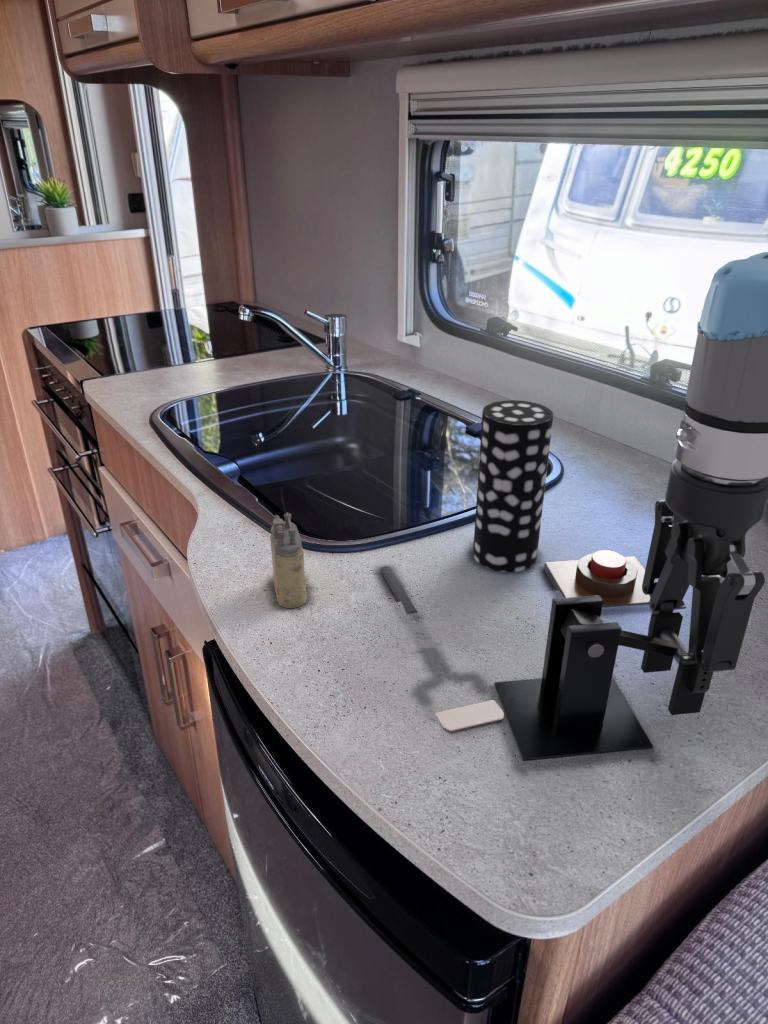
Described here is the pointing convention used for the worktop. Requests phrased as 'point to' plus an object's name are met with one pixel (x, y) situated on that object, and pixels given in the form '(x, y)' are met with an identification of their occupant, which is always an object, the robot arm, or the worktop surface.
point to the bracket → (573, 693)
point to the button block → (598, 582)
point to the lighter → (288, 563)
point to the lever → (633, 636)
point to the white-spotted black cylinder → (511, 484)
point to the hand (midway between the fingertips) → (669, 688)
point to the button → (608, 564)
